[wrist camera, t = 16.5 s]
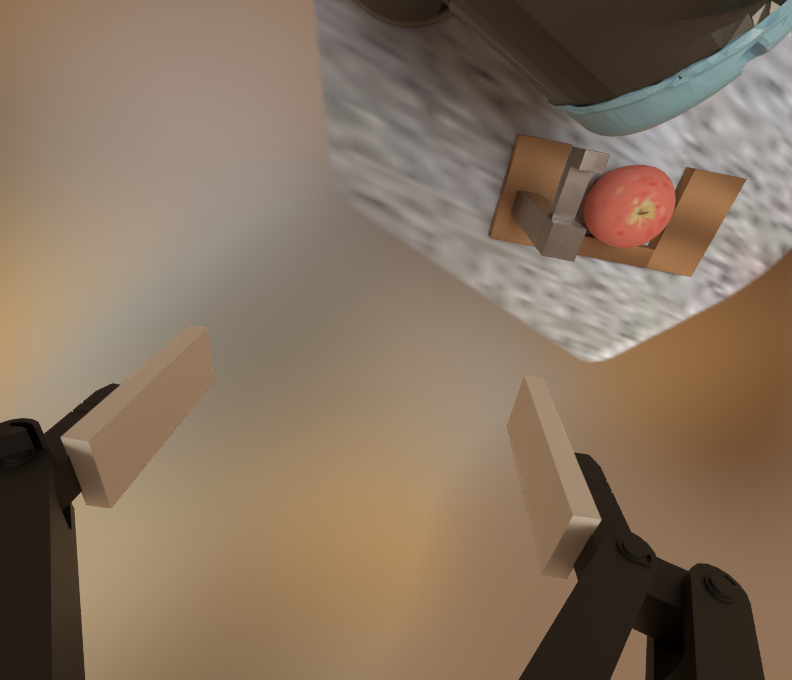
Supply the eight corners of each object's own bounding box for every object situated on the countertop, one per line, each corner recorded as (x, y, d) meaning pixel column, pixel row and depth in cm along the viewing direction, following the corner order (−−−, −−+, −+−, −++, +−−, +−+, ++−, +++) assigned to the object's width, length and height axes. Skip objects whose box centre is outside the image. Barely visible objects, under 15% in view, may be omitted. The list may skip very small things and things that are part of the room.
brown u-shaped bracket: (517, 133, 40) (520, 134, 38) (736, 176, 40) (746, 178, 39) (488, 234, 45) (490, 237, 43) (683, 271, 45) (691, 276, 44)
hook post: (533, 137, 38) (580, 148, 26) (558, 142, 38) (616, 155, 26) (510, 213, 42) (542, 255, 30) (533, 218, 42) (574, 261, 30)
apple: (582, 159, 40) (614, 169, 33) (659, 161, 40) (707, 171, 33) (566, 233, 44) (591, 256, 37) (636, 236, 43) (675, 259, 36)
